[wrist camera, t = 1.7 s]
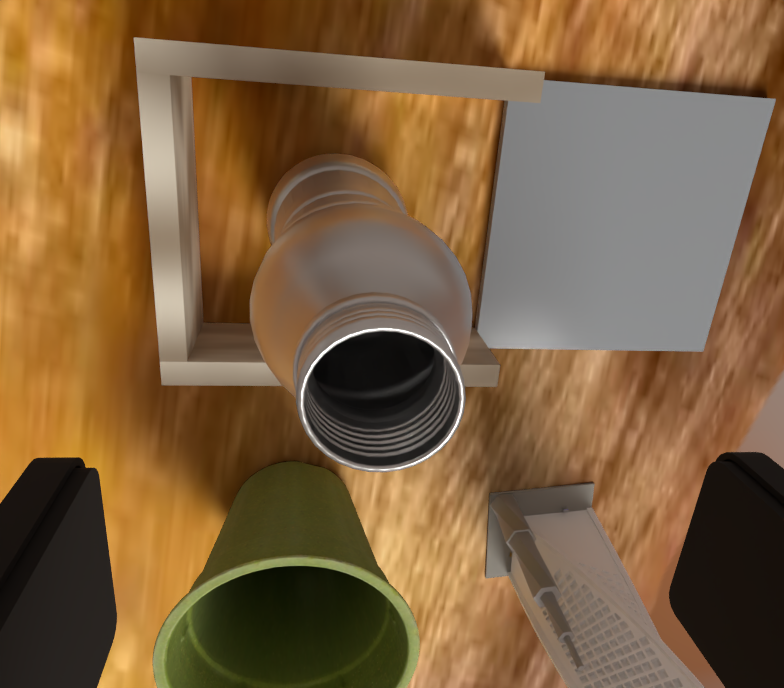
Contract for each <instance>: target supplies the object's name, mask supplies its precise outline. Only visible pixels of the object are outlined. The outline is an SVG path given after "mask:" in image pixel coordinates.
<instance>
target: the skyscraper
mask: <svg viewBox="0 0 784 688" xmlns="http://www.w3.org/2000/svg"><path fill="white" fill-rule="evenodd" d="M593 491H594V483H584V484H574V485H564V486H554V487H544V488H534V489H524V490H514V491H504V492H495V493H489V512H488V533H487V553H486V573H485V577H486V578H494V577H502V576H509V578H510V580H511V583H512V585H513V587H514V589H515V591H516V593H517V595H518V598H519V600H520V602H521V604H522V606H523V608H524V610H525V612H526V614H527V616H528V618H529V620H530V622H531V624H532V626H533V628H534V630H535V632H536V634H537V636H538V638H539V639H540V641H541V643H542V645H543V647H544V649H545V650H546V652H547V654H548V656H549V657H550V659H551V661H552V662H553V664H554V666H555V668H556V669H557V671H558V673H559V674H560V676H561V678H562V679H563V681H564V682H565V684H566V685H567V687H568V688H705V687H704V686H703V685H702V684H701V683H700V681H699V680H698V679H697V678H696V677H695V676H694V675H693V673H692V672H691V671H690V670H689V669H688V668H687V667H686V666H685V665H684V664H683V663H682V662H681V660H680V659H679V658H678V657H677V656H676V655H675V654H674V653H673V652H672V651H671V650H670V649H669V647H667V645H666V644H664V642H663V641H662V640H661V638H660V636H659V634H658V632H657V630H656V628H655V626H654V624H653V622H652V620H651V618H650V616H649V614H648V612H647V610H646V608H645V606H644V604H643V602H642V600H641V598H640V596H639V594H638V592H637V591H636V589H635V587H634V585H633V583H632V581H631V579H630V577H629V575H628V573H627V572H626V570H625V568H624V566H623V564H622V562H621V560H620V558H619V556H618V555H617V553H616V551H615V549H614V547H613V545H612V543H611V542H610V540H609V538H608V536H607V534H606V532H605V531H604V529H603V527H602V525H601V523H600V521H599V519H598V518H597V516H596V514H595V512H594V510H593V508H592V507H591V506H592V499H593Z"/></svg>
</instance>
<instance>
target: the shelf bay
mask: <svg viewBox="0 0 784 688" xmlns="http://www.w3.org/2000/svg"><path fill="white" fill-rule="evenodd" d="M134 48H135V61H136V73H137V85H138V98H139V110H140V123H141V135H142V147H143V160H144V172H145V185H146V197H147V210H148V222H149V234H150V247H151V259H152V272H153V284H154V296H155V309H156V321H157V334H158V346H159V358H160V371H161V383H162V385H190V386H282V385H281V384H280V382H279V381H278V380H277V378H276V377H275V375H274V374H273V373H272V371H271V370H270V369H269V367H268V366H267V364H266V363H265V361H264V360H263V358H262V356H261V353H260V351H259V349H258V347H257V345H256V343H255V340H254V336H253V332H252V327H251V323H204V322H203V302H202V281H201V261H200V241H199V221H198V200H197V180H196V160H195V140H194V119H193V99H192V79H191V77H201V78H215V79H228V80H241V81H254V82H267V83H281V84H294V85H307V86H320V87H333V88H346V89H360V90H373V91H386V92H399V93H412V94H426V95H439V96H452V97H465V98H478V99H492V100H505V101H518V102H531V103H540V102H541V95H542V89H543V82H544V76H545V72H542V71H530V70H518V69H506V68H494V67H482V66H470V65H459V64H447V63H435V62H423V61H411V60H399V59H387V58H375V57H363V56H351V55H339V54H327V53H315V52H303V51H291V50H280V49H268V48H256V47H244V46H232V45H220V44H208V43H196V42H184V41H172V40H160V39H148V38H136V37H134ZM460 368H461V372H462V375H463V378H464V385H465V387H497V384H498V378H499V371H500V364H499V362H498V361H497V359H496V358H495V356H494V355H493V354H492V352H491V351H490V349H489V348H488V346H487V345H486V343H485V342H484V340H483V339H482V338H481V336H480V335H479V333H478V332H477V330H476V329H475V328H471V334H470V341H469V346H468V348H467V351H466V354H465V357H464V360H463V362H462V364H461V365H460Z"/></svg>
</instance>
